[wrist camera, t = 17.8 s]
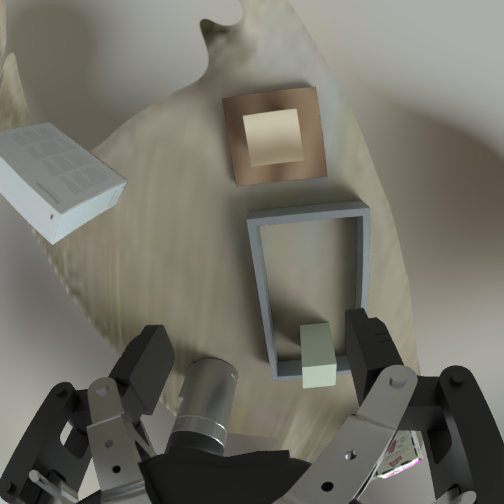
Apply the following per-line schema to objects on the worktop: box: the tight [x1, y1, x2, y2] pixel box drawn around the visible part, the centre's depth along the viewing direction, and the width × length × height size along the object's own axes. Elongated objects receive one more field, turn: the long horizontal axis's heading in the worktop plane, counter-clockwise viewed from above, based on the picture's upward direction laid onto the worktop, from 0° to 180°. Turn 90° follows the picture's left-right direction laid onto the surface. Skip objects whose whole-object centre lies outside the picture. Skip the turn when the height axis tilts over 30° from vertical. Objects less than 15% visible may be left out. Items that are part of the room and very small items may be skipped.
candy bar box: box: [376, 430, 423, 479], centre depth 50 cm, size 11×5×16 cm, turn 137°
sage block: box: [300, 322, 337, 388], centre depth 43 cm, size 5×5×10 cm
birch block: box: [243, 109, 304, 167], centre depth 29 cm, size 5×5×10 cm
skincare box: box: [0, 122, 127, 245], centre depth 32 cm, size 21×5×16 cm, turn 53°
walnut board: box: [222, 87, 327, 187], centre depth 34 cm, size 12×12×2 cm
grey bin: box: [246, 200, 370, 380], centre depth 43 cm, size 16×30×4 cm, turn 9°
